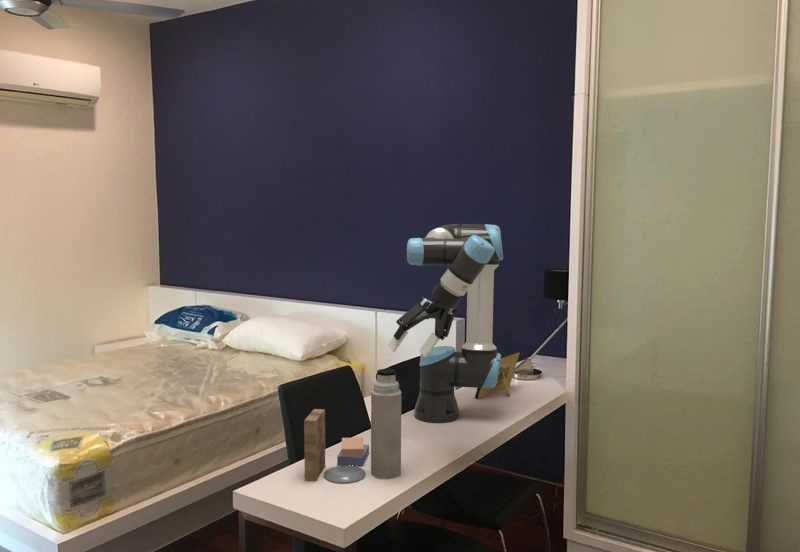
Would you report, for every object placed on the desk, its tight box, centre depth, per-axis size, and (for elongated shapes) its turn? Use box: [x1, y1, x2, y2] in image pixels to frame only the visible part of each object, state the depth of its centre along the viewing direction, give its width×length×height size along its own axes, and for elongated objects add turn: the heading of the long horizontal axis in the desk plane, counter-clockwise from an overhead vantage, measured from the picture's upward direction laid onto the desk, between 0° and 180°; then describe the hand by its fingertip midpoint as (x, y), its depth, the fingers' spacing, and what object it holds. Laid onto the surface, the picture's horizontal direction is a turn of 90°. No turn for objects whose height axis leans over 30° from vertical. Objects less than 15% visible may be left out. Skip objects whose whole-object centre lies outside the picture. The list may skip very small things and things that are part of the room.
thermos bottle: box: [370, 368, 402, 480], centre depth 181 cm, size 8×8×28 cm
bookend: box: [303, 408, 326, 482], centre depth 181 cm, size 10×3×16 cm, turn 172°
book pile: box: [336, 437, 370, 467], centre depth 192 cm, size 10×8×5 cm
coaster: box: [323, 465, 367, 485], centre depth 181 cm, size 11×11×1 cm
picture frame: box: [474, 350, 521, 400], centre depth 257 cm, size 23×9×15 cm, turn 141°
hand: (407, 351), depth 186 cm, fingers open, 13 cm apart
